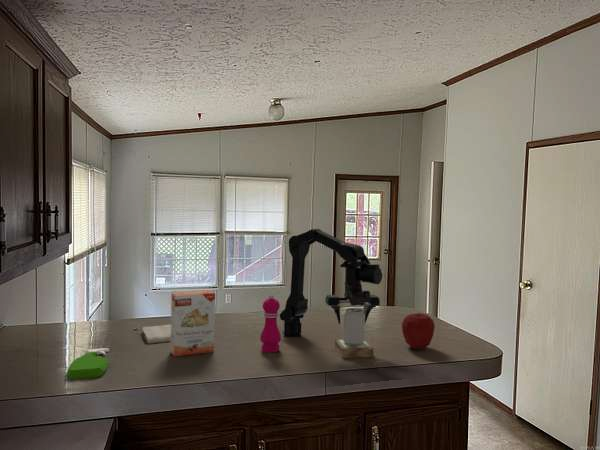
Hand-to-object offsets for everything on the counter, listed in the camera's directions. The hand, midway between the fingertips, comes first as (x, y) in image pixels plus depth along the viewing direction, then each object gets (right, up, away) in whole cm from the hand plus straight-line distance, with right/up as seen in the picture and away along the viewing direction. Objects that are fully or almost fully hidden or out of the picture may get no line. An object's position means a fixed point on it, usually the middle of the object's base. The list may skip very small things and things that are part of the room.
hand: (351, 323), depth 168 cm
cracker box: (-56, -9, -6) cm, 57 cm away
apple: (+25, -10, +4) cm, 27 cm away
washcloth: (-73, -8, +13) cm, 74 cm away
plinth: (0, -10, -3) cm, 10 cm away
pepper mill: (-29, -9, -2) cm, 31 cm away
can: (0, -6, -3) cm, 7 cm away
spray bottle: (-85, -9, -20) cm, 87 cm away
